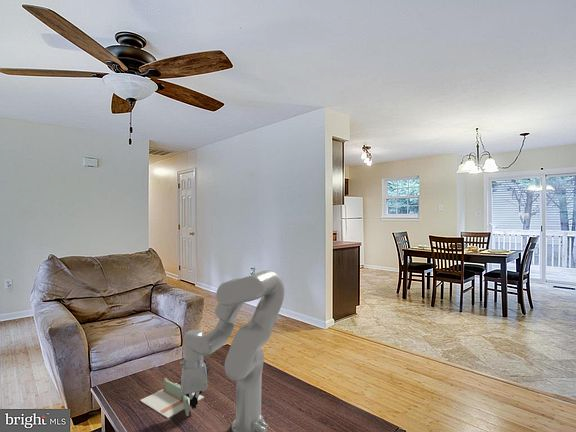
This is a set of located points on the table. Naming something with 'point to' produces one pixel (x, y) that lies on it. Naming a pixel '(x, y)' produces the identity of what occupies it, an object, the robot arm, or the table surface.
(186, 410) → the hinged fence panel
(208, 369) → the character figurine
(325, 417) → the table surface
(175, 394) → the fixed fence panel
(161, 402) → the card
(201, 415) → the table surface
